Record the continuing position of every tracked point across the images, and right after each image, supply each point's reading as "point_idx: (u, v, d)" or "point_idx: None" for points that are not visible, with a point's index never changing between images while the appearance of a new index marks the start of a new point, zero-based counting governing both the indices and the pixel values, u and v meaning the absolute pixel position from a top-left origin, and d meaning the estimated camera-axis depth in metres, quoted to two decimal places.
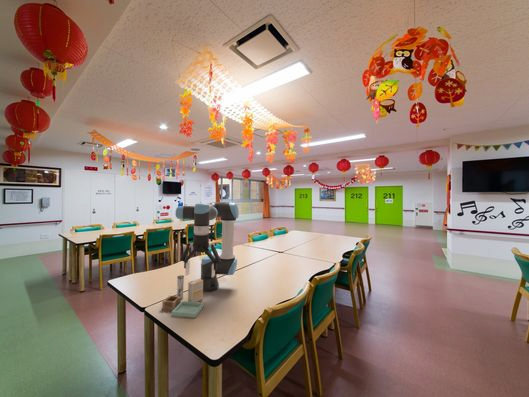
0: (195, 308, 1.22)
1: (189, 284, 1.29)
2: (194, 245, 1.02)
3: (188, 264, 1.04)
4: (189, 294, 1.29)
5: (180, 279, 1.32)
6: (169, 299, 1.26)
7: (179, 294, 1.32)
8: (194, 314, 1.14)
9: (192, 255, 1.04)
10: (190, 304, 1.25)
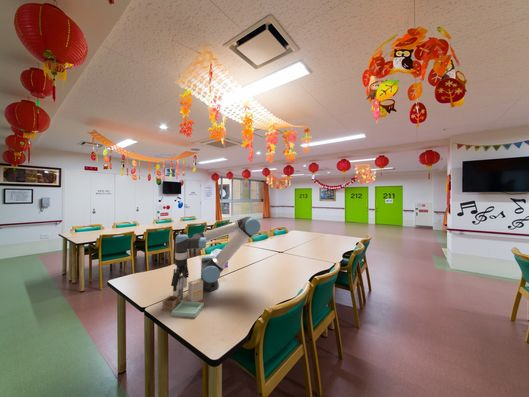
0: (195, 308, 1.22)
1: (189, 284, 1.29)
2: None
3: (184, 279, 1.40)
4: (189, 294, 1.29)
5: (180, 279, 1.32)
6: (169, 299, 1.26)
7: (179, 294, 1.32)
8: (194, 314, 1.14)
9: (184, 273, 1.38)
10: (190, 304, 1.25)
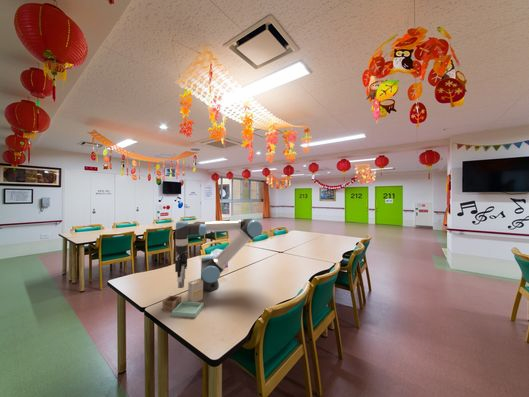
0: (195, 308, 1.22)
1: (189, 284, 1.29)
2: None
3: None
4: (189, 294, 1.29)
5: None
6: (169, 299, 1.26)
7: (180, 282, 1.32)
8: (194, 314, 1.14)
9: (183, 262, 1.36)
10: (190, 304, 1.25)
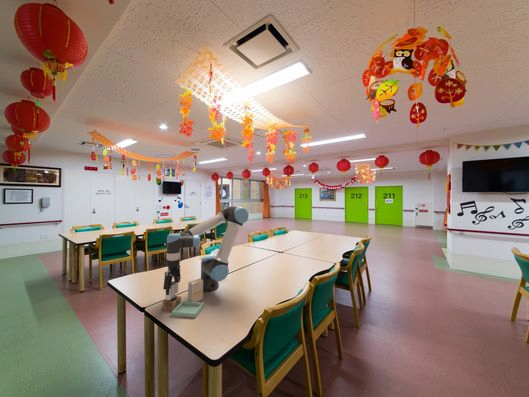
0: (195, 308, 1.22)
1: (189, 284, 1.29)
2: None
3: None
4: (189, 294, 1.29)
5: (171, 285, 1.22)
6: None
7: None
8: (194, 314, 1.14)
9: (176, 277, 1.27)
10: (190, 304, 1.25)
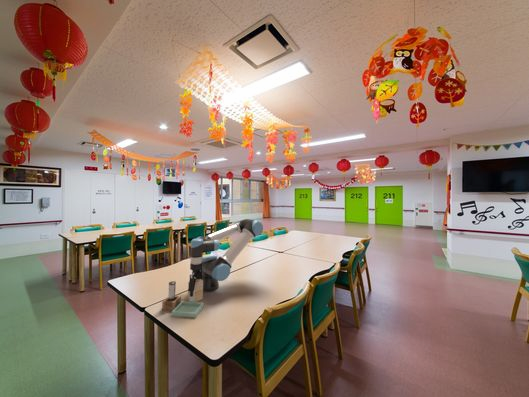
0: (195, 308, 1.22)
1: None
2: None
3: None
4: (189, 294, 1.29)
5: (172, 285, 1.22)
6: None
7: None
8: (194, 314, 1.14)
9: None
10: (190, 304, 1.25)
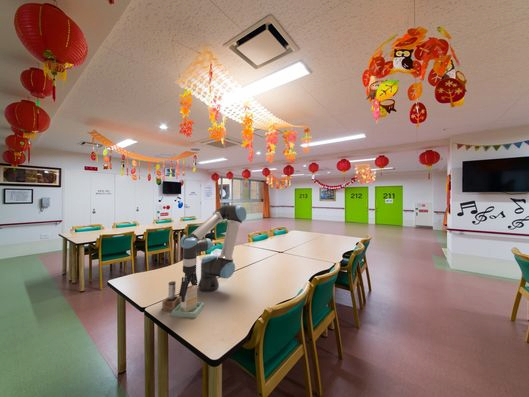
0: None
1: None
2: None
3: None
4: None
5: (171, 286, 1.22)
6: None
7: None
8: (194, 314, 1.14)
9: (193, 281, 1.24)
10: None
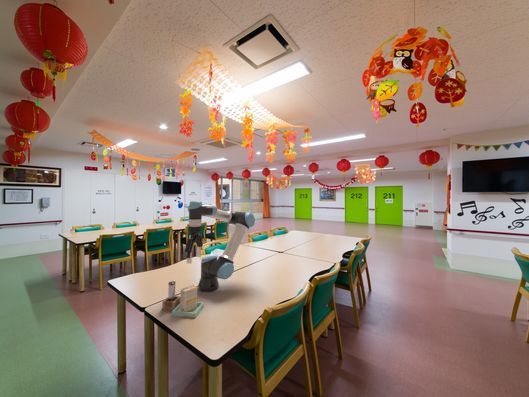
0: None
1: (181, 291, 1.18)
2: None
3: (198, 248, 1.33)
4: (181, 303, 1.18)
5: (171, 285, 1.22)
6: None
7: None
8: (194, 314, 1.14)
9: (198, 242, 1.31)
10: None
